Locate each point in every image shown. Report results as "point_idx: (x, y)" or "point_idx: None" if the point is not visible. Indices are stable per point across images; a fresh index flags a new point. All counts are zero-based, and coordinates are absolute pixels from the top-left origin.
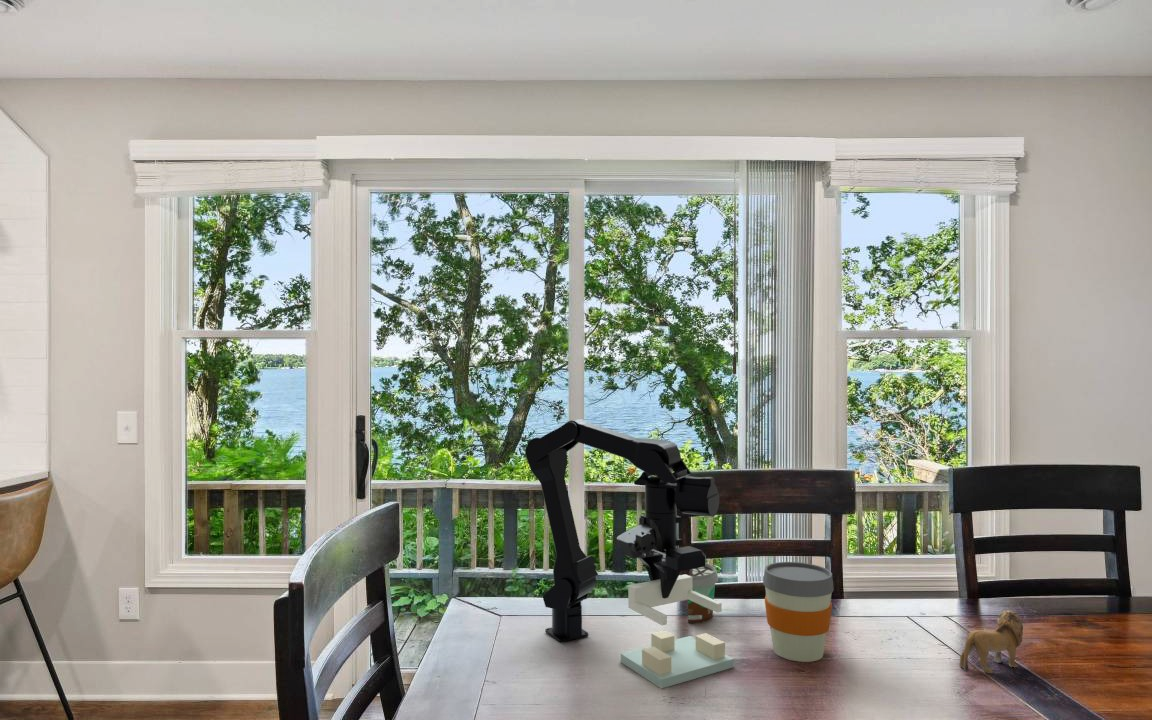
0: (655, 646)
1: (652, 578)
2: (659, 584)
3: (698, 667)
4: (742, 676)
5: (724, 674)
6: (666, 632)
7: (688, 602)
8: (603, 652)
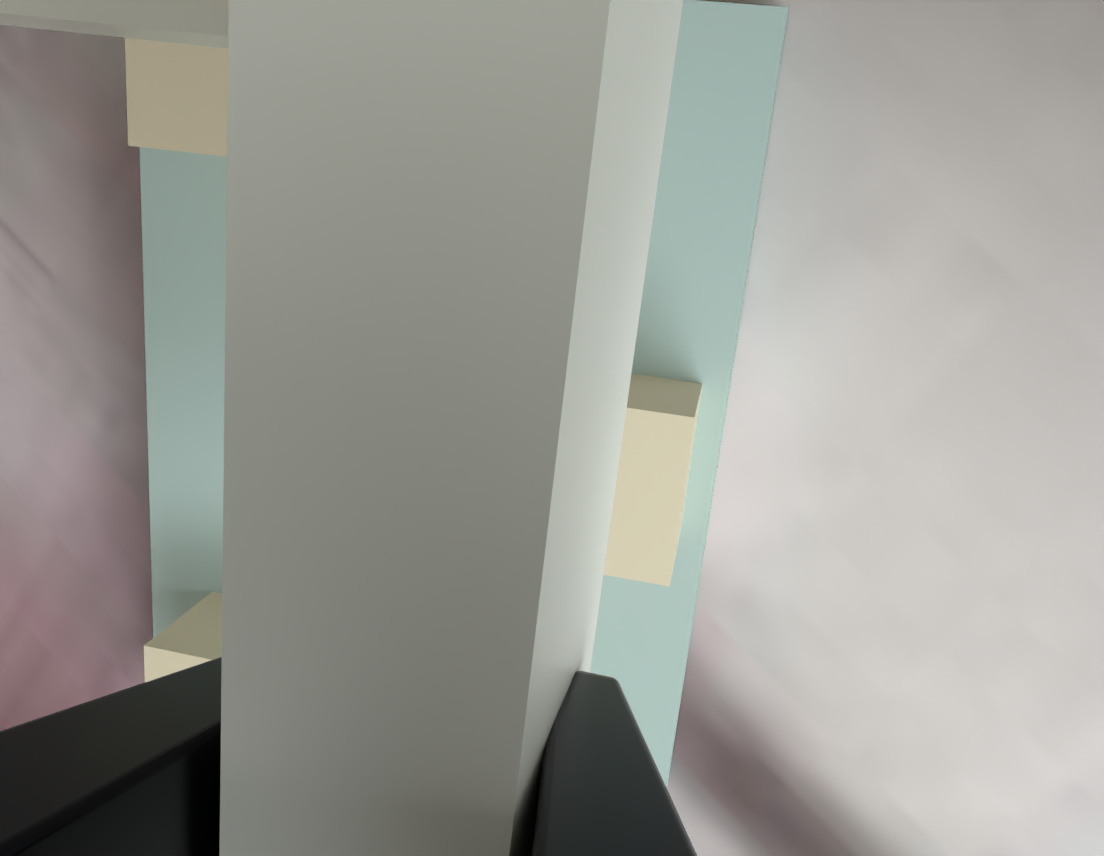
0: (631, 378)
1: (536, 844)
2: (240, 716)
3: (161, 388)
4: (68, 602)
5: (143, 539)
6: (608, 555)
7: None
8: (1092, 19)
